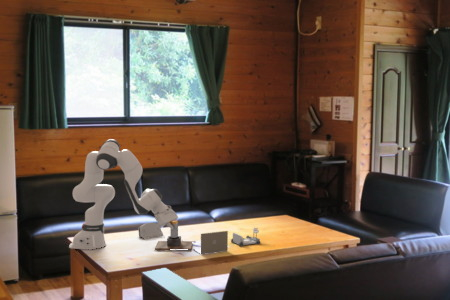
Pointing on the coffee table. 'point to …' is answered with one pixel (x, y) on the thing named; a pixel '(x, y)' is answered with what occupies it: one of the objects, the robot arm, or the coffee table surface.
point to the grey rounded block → (149, 230)
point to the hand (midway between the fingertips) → (175, 227)
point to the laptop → (214, 242)
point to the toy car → (241, 241)
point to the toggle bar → (174, 231)
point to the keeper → (173, 244)
